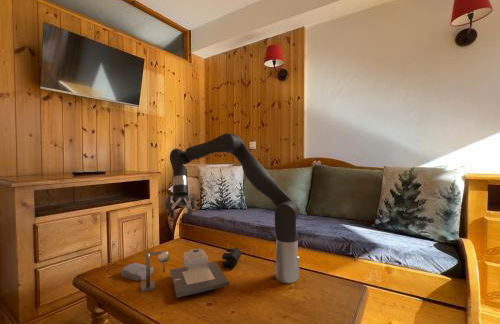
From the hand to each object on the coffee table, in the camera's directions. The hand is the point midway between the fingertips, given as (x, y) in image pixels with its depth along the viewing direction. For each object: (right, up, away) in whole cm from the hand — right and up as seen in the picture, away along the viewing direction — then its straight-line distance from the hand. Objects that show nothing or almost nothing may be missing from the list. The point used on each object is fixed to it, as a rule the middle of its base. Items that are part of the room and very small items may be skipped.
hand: (181, 218), depth 118 cm
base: (+12, -23, -17) cm, 31 cm away
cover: (+10, -20, -13) cm, 26 cm away
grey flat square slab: (+12, -21, -17) cm, 30 cm away
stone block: (-16, -23, -10) cm, 30 cm away
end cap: (+25, -23, +1) cm, 34 cm away
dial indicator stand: (-5, -23, -20) cm, 31 cm away
